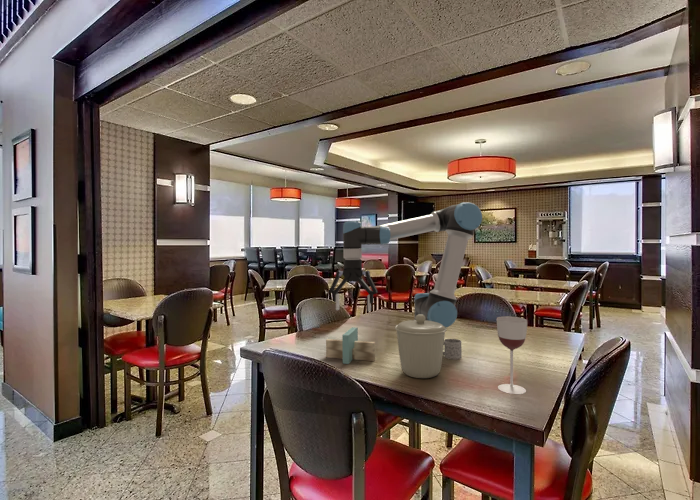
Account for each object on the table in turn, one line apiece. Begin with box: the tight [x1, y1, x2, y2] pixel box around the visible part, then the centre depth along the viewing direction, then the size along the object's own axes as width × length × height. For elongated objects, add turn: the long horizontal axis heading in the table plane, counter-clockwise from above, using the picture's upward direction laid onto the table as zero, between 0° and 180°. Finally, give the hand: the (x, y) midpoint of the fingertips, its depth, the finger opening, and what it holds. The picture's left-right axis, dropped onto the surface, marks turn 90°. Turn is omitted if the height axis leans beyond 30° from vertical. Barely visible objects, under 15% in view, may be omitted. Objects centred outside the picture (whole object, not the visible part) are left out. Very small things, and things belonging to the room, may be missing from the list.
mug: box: [442, 338, 463, 360], centre depth 154 cm, size 10×7×7 cm
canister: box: [394, 314, 448, 379], centre depth 134 cm, size 18×18×21 cm
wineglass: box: [496, 315, 528, 395], centre depth 120 cm, size 9×10×22 cm
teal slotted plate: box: [341, 326, 359, 365], centre depth 153 cm, size 2×14×11 cm, turn 164°
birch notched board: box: [325, 338, 376, 362], centre depth 153 cm, size 20×2×7 cm, turn 74°
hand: (353, 310), depth 157 cm, fingers open, 13 cm apart
